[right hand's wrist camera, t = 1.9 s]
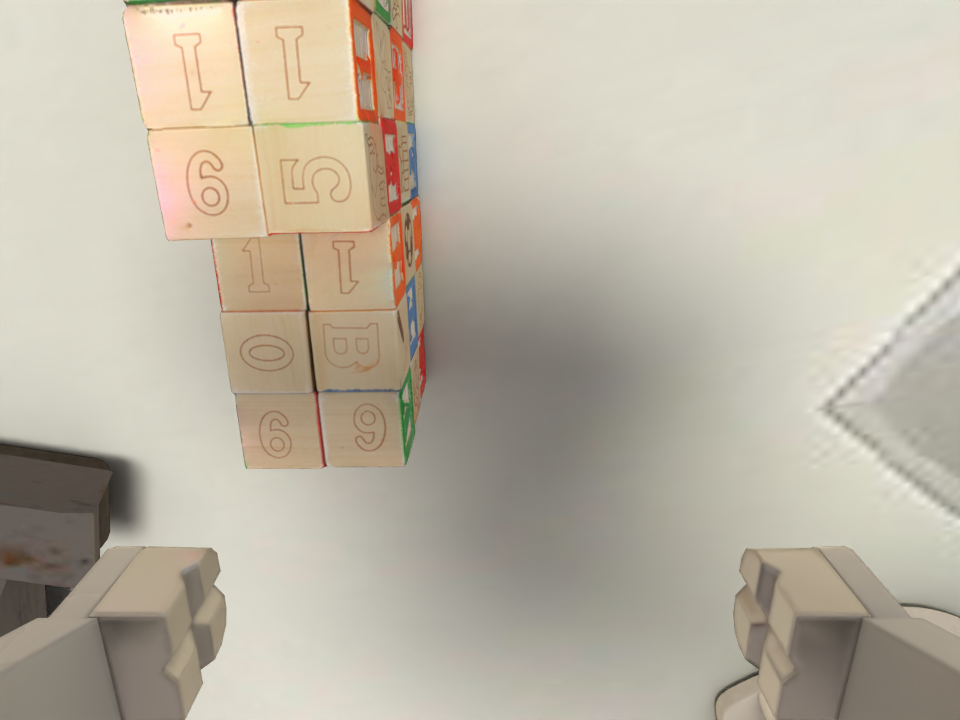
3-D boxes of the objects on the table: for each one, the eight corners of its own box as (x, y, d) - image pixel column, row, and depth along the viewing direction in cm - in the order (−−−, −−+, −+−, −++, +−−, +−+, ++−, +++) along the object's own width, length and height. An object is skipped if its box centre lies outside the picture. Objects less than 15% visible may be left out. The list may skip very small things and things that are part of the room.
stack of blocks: (430, 382, 34) (393, 516, 22) (307, 383, 34) (205, 516, 22) (408, -121, 27) (336, -315, 15) (252, -116, 27) (63, -303, 15)
